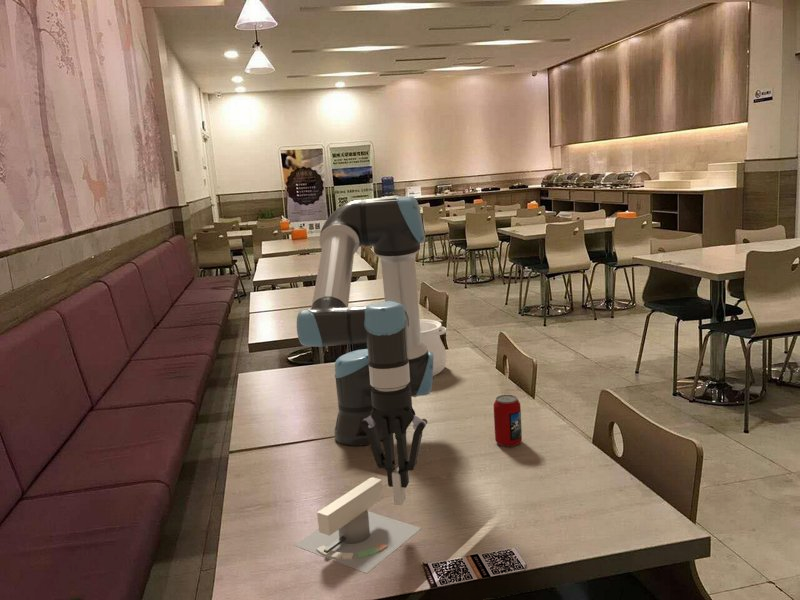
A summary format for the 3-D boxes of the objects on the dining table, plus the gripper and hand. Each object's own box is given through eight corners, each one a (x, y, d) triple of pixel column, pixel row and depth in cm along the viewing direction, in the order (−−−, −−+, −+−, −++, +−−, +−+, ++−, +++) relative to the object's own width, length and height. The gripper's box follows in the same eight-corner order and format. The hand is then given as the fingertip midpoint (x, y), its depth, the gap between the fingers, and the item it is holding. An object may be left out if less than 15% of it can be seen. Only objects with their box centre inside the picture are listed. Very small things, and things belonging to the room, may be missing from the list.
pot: (371, 383, 225) (367, 336, 222) (384, 363, 249) (381, 319, 246) (445, 381, 221) (442, 333, 218) (451, 361, 244) (449, 317, 241)
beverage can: (521, 448, 164) (519, 402, 161) (494, 448, 165) (492, 402, 163) (522, 437, 170) (520, 393, 168) (496, 437, 172) (493, 393, 169)
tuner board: (294, 550, 126) (294, 543, 125) (352, 511, 139) (351, 504, 139) (367, 579, 115) (366, 571, 115) (422, 533, 128) (421, 526, 128)
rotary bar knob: (314, 551, 123) (309, 510, 121) (368, 513, 135) (365, 475, 134) (338, 560, 119) (333, 518, 118) (391, 520, 132) (388, 481, 130)
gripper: (429, 379, 124) (437, 494, 128) (364, 378, 128) (374, 490, 132) (418, 392, 117) (427, 513, 121) (350, 390, 121) (361, 508, 125)
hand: (400, 501), depth 127 cm, fingers closed
